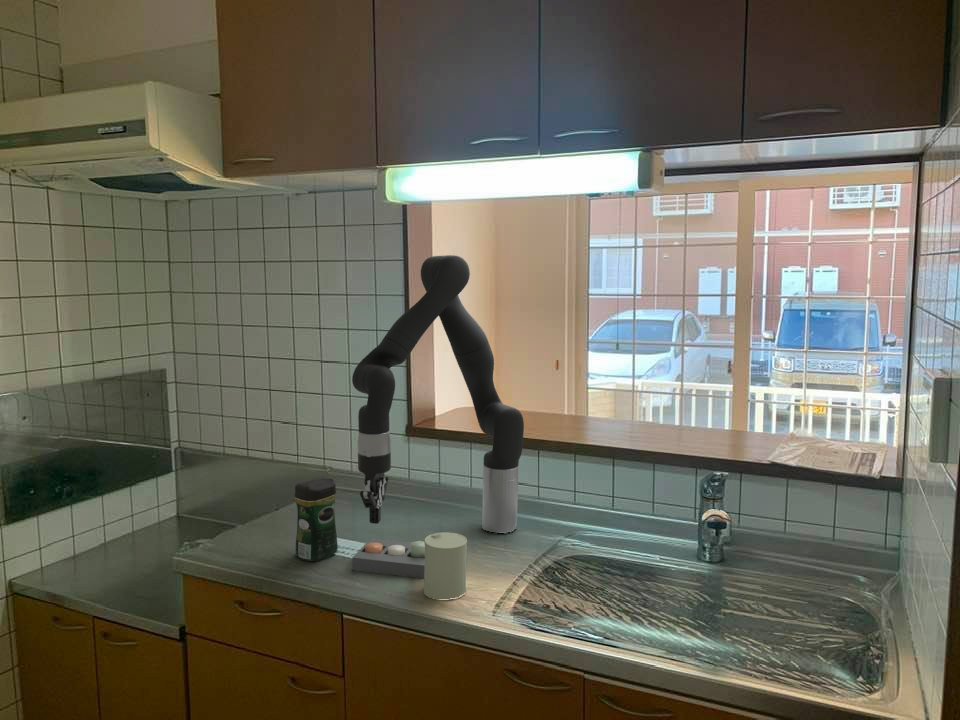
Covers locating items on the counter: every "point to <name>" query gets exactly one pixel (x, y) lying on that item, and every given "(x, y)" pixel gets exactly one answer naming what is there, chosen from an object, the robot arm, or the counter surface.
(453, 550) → the can
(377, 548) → the terracotta button
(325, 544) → the coffee jar
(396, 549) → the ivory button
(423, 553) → the sage button
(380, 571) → the button panel
